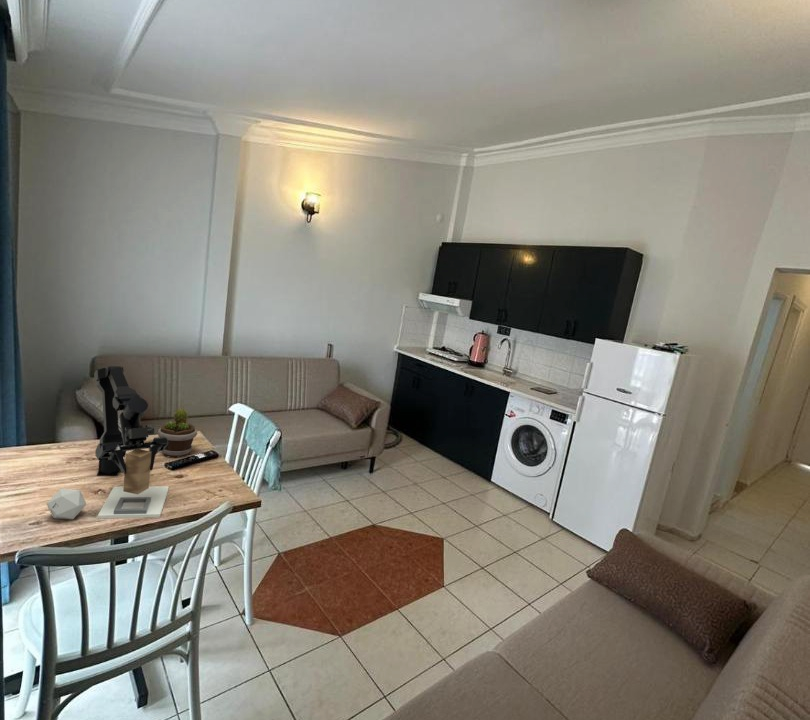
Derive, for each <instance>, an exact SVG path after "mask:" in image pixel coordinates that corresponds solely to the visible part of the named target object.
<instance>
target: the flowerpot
mask: <svg viewBox="0 0 810 720" xmlns="http://www.w3.org/2000/svg"><path fill="white" fill-rule="evenodd" d="M188 414H189V413H188V412H187V410H186V409H185V408H183V407H182V406H180V407H177V410H176V411H175V412H174V411H173V418H172V420H173V421H168V422H166V423H165V424H163V425H162V426H161V427H160V428H159V429H158V430H157V436H158V437H166V438H167V439H168V443H169V444H168V445H167V447H166V448H165V449H164V450H163V451H160V452H161V453H162V454H163V456H165V457H167V456H169V457H168V458H179V457H182V456H183V457H185V456H188V455H189V453H190V452H191V451H193V446H192V444H193V442H194V439H195V438H196V437H197V435H198V430H197V428H195V426H194V425H193V424H191V423H188V419H189V417H188ZM187 454H188V455H187Z"/></svg>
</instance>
